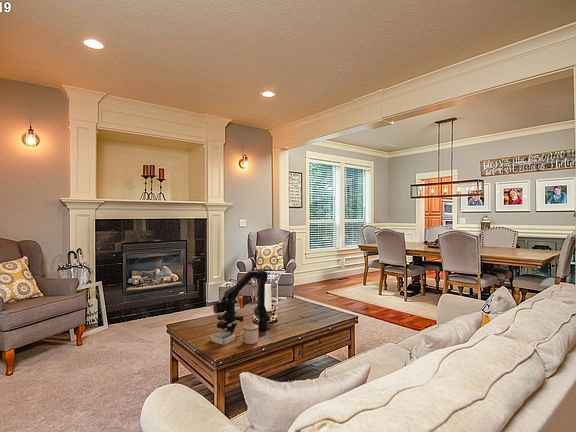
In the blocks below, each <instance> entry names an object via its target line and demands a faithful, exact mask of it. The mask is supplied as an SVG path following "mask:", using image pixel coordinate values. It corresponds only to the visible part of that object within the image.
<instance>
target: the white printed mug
mask: <svg viewBox="0 0 576 432" xmlns="http://www.w3.org/2000/svg"><path fill="white" fill-rule="evenodd" d="M258 328H259V324H255V323H254V322H252V321H250V322H249V323H247V324H245V325H244V326H243V331H241V332H240V333H239V338H240V339H241V340H243V342H244V344H247V345H254V344H257V343H258V342H259V330H258ZM242 335H243V337H242Z"/></svg>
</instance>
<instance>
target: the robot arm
mask: <svg viewBox="0 0 576 432" xmlns="http://www.w3.org/2000/svg"><path fill="white" fill-rule="evenodd" d="M252 279H256V282H257V305H256V306H255V307H254V312H253V314H254V316H255V317H256V319H257V320H258V327H259V328H258V331H262V332H266V331H268V330H270V329H271V328H270V327H269V322H270V321H271V317H270V316H269V315H268V311H267V309H266V305H265V303H266V302H265V299H266V295H265V294H266V283H267V281H268V272H267V271H265V270H262V269H258V270H254V271H253V270H252V271H247V272H246V274H245V275H243V277H241V279H240V280H239V281H237V282H236V284H235V285H233V286H231V287H229V288H228V289H227V290H226V291H225V292H224V293H223V294H224V295H223V297H222V298H221V299H220V301H215V302H214V304H213V306H212V307H213V308H212V309H213V313H214V314H215V315H217V317H216V319H217V320H218V321H219V322H217V323H216V328H217V329H221V330H223V329H226V330H229V331H231V336H232V335H233V333H234V332H235V329H236V327H237V325H238V323H237V321H239V322H240V323H242V322H244V317H243V315H238V314H237V311H236V304H238V303H239V301H237V297H238V295H239V293H240V291H242V290H243V288H244V287H245V286H246V285H247V284H248V283H249V282H250V281H251V280H252ZM221 313H223V314H221Z"/></svg>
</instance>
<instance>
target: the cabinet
mask: <svg viewBox="0 0 576 432" xmlns="http://www.w3.org/2000/svg"><path fill="white" fill-rule="evenodd" d="M214 335H215V337H219V338H222V339H225V338H228V337H230V336H232V335H231V331H229V330H227V328H225V329H222V331H219V332H217V333H215V334H214Z"/></svg>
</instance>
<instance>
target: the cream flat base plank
mask: <svg viewBox="0 0 576 432" xmlns="http://www.w3.org/2000/svg"><path fill="white" fill-rule="evenodd" d="M234 341H236V334H232V335H231V336H230V337H228V338H225V339H222V338H219V337H215V334H213V335H211V336H210V342H212V343H215V344H219V345H223V346H226V345H228V344H230V343H232V342H234Z"/></svg>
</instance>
